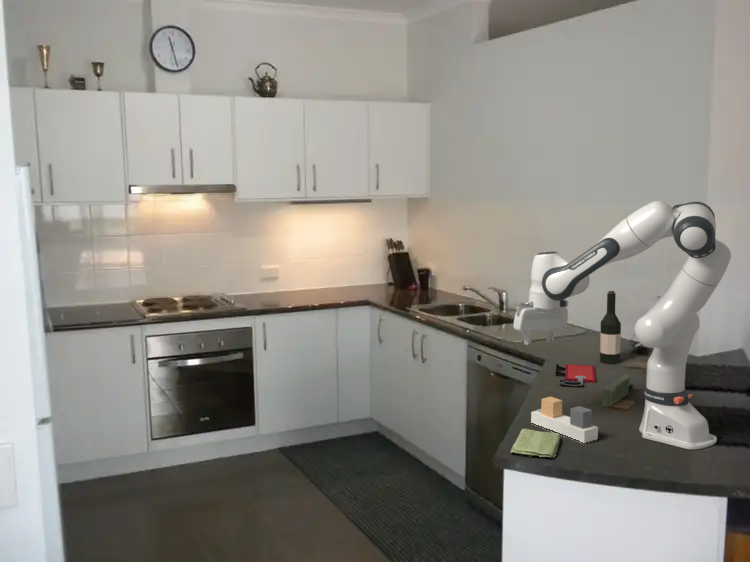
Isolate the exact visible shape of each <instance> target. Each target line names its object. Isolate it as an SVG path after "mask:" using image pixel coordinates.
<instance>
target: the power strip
mask: <svg viewBox="0 0 750 562" xmlns="http://www.w3.org/2000/svg"><path fill="white" fill-rule="evenodd" d="M530 412H531V413H530V414H531V415H530V416H531V418H530V424H531V423H534V424H536V425H539V426H542V427H544V428H547V429H550V430H553V431H555V432H558V433H560V434H563V435H566V436H568V437H571V438H573V439H576V440H579V441H580V442H579V443H581V442H583V443H585V444H587V443H586V442H588V443H591V442H594V441H597V439H598V437H599V427H598V426H597V425H594V424H592V426H590V427H587V428H584V429H582V428H579V427H577V426H574V425H571V424H570V416H568V415H565V414H562V416H558V417H555V418H551V417H549V416H546V415H543V414H541V408H538V409H536V410H533V411H530ZM536 425H535V426H536ZM544 428H543V429H544ZM573 439H572V440H573ZM593 440H594V441H593ZM590 441H591V442H590ZM583 443H582V444H583Z"/></svg>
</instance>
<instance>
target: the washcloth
mask: <svg viewBox="0 0 750 562" xmlns="http://www.w3.org/2000/svg"><path fill="white" fill-rule="evenodd" d="M560 436H561V435H560V434H558V433H554V432H552V431H538V430H534V429H528V428H522V429H521V430H520V432H519V434H518V436H517V438H516V440H515V443H513V445H512V447H511V449H510V454H511V453H518V454H523V455H531V456H530V457H532V456H539V458H546V457H549V458H548V459H551V458H550V457H555V456H556V457H557V455H556V452H557V453H558V450H559V447H558V446H560ZM557 449H558V450H557ZM523 455H522V456H523Z"/></svg>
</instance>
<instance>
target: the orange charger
mask: <svg viewBox="0 0 750 562" xmlns="http://www.w3.org/2000/svg"><path fill="white" fill-rule="evenodd" d="M540 409H541V414H543V415H546V416H549V417H551V418H555V417H558V416H562V415H563V400H562V399H559V398H556V397H553V396H547V397H543V398H541V408H540Z"/></svg>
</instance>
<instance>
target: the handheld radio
mask: <svg viewBox="0 0 750 562" xmlns="http://www.w3.org/2000/svg"><path fill="white" fill-rule="evenodd" d="M633 387H634V386H633V384H630V376H629V375H628V374H624V375H623V376H621V377H620V378H617V380H615V381H613V382H612V383H611V384H610V383H609V385H607V386H606V387H604V388H603V389H602V401H601V402H602V403H601V406H602V407H604V408H610V407H611V406H613V405H614V404H616V403H617V402H618V401H620V400H621V399H622V398H623V397H626V396H627V395H629V391H630V390H631V389H632V388H633ZM617 400H618V401H617ZM616 401H617V402H616ZM612 404H613V405H612ZM609 406H610V407H609Z"/></svg>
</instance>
